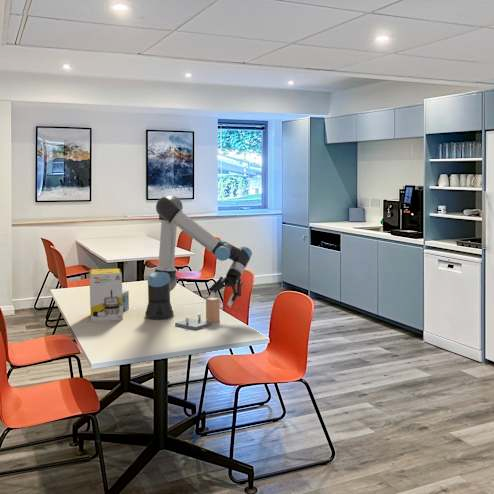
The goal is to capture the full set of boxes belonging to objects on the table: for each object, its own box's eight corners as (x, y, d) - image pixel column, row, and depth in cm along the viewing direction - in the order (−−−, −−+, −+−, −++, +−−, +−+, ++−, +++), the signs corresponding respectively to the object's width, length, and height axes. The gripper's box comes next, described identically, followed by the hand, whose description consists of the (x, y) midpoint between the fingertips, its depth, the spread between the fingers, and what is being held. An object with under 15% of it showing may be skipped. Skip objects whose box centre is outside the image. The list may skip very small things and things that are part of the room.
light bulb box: (121, 313, 335) (121, 293, 334) (110, 312, 337) (110, 293, 336) (129, 308, 346) (128, 290, 345) (118, 308, 347) (117, 289, 346)
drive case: (206, 321, 316) (205, 298, 315) (212, 319, 320) (212, 297, 319) (213, 322, 313) (213, 300, 312) (219, 320, 317) (219, 298, 316)
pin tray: (175, 325, 307) (175, 316, 306) (191, 321, 316) (190, 311, 316) (196, 330, 299) (196, 320, 298) (211, 325, 308) (211, 315, 308)
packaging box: (91, 321, 316) (89, 274, 313) (90, 314, 331) (89, 269, 328) (122, 319, 320) (121, 273, 317) (120, 312, 336) (119, 268, 333)
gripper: (257, 278, 323) (240, 311, 313) (220, 273, 338) (203, 305, 327) (251, 269, 318) (234, 302, 308) (214, 265, 333) (196, 297, 322)
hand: (218, 304), depth 318 cm, fingers open, 13 cm apart
